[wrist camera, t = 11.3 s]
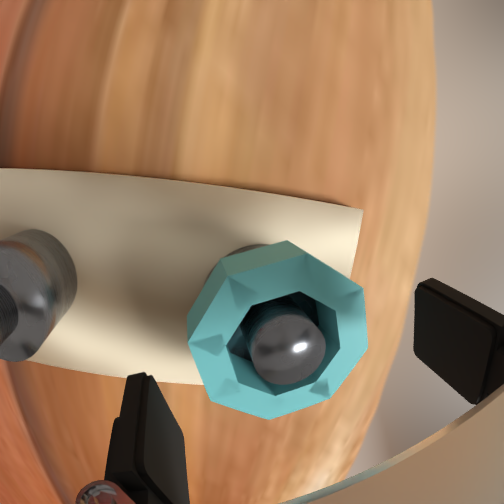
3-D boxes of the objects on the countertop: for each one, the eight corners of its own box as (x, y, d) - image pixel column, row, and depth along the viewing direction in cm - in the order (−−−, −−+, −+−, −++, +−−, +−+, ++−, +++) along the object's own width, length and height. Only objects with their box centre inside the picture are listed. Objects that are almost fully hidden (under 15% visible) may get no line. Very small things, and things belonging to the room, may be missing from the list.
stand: (-1, 225, 13) (-100, 264, 5) (78, 233, 14) (-6, 287, 6) (4, 312, 14) (-70, 387, 6) (79, 326, 15) (23, 424, 8)
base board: (-16, 167, 13) (-29, 168, 12) (350, 206, 18) (363, 209, 17) (-8, 338, 16) (-17, 348, 14) (313, 371, 20) (321, 384, 19)
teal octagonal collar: (172, 271, 13) (169, 292, 11) (330, 227, 14) (357, 238, 12) (218, 400, 15) (224, 432, 13) (347, 357, 16) (369, 382, 13)
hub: (208, 237, 15) (219, 270, 10) (322, 250, 17) (378, 283, 12) (196, 347, 17) (202, 414, 11) (300, 351, 18) (339, 409, 13)
